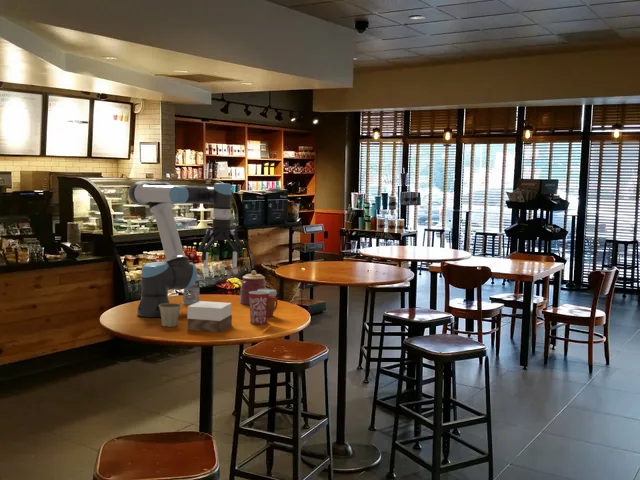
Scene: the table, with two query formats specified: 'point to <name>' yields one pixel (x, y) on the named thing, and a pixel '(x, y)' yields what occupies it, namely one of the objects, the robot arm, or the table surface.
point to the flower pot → (169, 314)
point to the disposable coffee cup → (272, 301)
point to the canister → (251, 286)
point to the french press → (193, 290)
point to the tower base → (210, 324)
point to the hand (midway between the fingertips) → (220, 267)
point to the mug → (260, 306)
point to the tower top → (209, 310)
